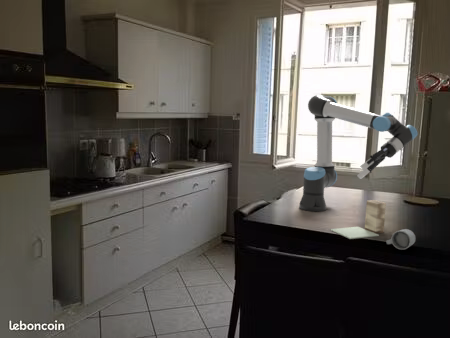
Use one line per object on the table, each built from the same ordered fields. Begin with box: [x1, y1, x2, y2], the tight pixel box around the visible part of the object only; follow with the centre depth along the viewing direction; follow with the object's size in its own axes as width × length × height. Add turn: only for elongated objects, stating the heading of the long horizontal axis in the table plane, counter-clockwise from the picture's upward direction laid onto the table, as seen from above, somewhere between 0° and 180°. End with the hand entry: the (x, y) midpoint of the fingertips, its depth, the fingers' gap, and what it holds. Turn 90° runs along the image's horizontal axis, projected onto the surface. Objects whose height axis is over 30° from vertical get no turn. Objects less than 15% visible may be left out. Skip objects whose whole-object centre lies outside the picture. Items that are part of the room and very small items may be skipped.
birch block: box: [364, 199, 387, 234], centre depth 188 cm, size 5×7×14 cm
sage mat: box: [330, 226, 380, 240], centre depth 185 cm, size 16×14×1 cm
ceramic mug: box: [385, 228, 416, 251], centre depth 167 cm, size 11×8×8 cm
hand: (360, 172), depth 207 cm, fingers open, 13 cm apart
